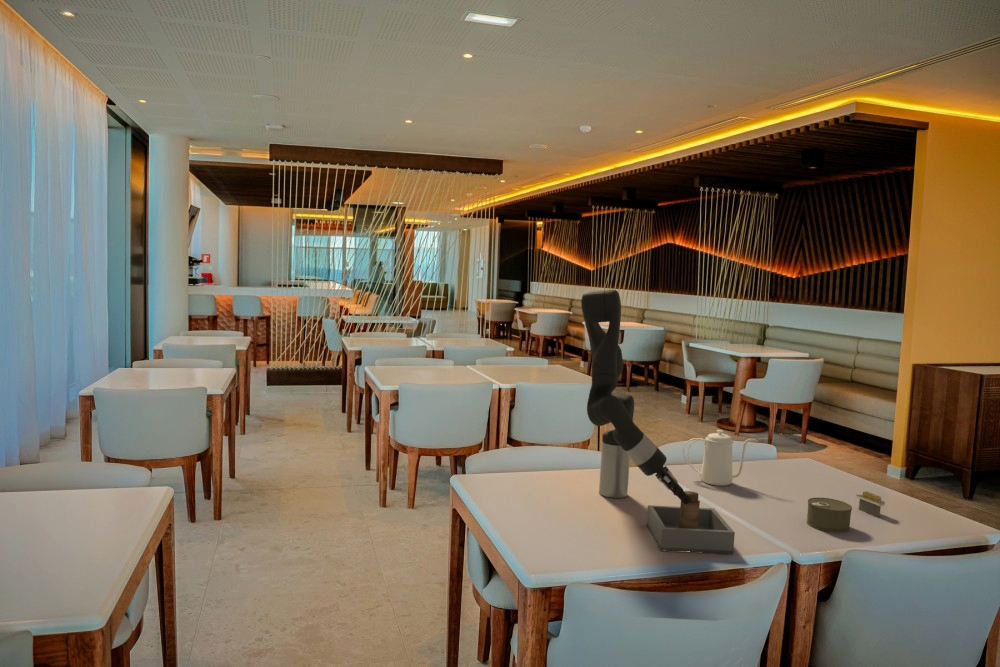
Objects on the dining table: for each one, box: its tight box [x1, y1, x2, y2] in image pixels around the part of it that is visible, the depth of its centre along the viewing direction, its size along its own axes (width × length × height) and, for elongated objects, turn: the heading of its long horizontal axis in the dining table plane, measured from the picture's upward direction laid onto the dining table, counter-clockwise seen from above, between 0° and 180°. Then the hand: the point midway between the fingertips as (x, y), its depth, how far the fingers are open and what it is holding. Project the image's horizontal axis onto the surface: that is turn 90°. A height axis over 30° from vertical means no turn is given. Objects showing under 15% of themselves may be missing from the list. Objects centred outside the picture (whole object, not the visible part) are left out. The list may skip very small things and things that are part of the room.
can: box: [806, 497, 853, 534], centre depth 215 cm, size 12×12×7 cm
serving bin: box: [646, 504, 736, 555], centre depth 198 cm, size 19×19×6 cm
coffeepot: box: [682, 429, 759, 487], centre depth 255 cm, size 11×25×19 cm, turn 71°
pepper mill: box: [679, 490, 701, 529], centre depth 198 cm, size 5×5×12 cm
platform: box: [855, 491, 886, 519], centre depth 229 cm, size 12×18×7 cm, turn 20°
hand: (684, 497), depth 198 cm, fingers open, 8 cm apart
